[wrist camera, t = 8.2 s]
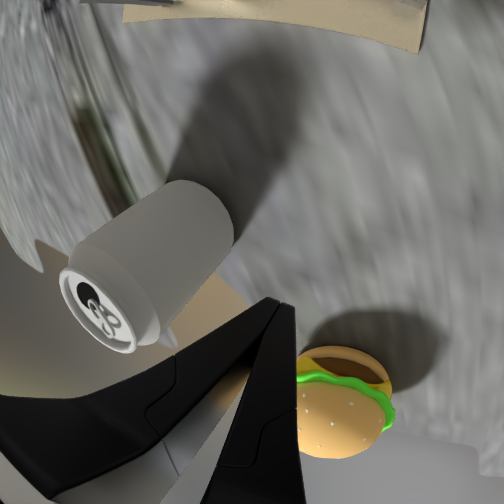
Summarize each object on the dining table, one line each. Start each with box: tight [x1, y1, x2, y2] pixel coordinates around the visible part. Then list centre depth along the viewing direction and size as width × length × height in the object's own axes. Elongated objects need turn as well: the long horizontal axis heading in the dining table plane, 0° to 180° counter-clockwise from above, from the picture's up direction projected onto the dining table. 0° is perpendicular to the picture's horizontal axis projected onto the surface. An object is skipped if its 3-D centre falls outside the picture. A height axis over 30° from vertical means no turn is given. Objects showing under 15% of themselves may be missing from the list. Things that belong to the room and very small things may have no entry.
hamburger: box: [296, 346, 395, 459], centre depth 25 cm, size 12×12×9 cm
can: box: [59, 180, 234, 353], centre depth 21 cm, size 8×8×12 cm
